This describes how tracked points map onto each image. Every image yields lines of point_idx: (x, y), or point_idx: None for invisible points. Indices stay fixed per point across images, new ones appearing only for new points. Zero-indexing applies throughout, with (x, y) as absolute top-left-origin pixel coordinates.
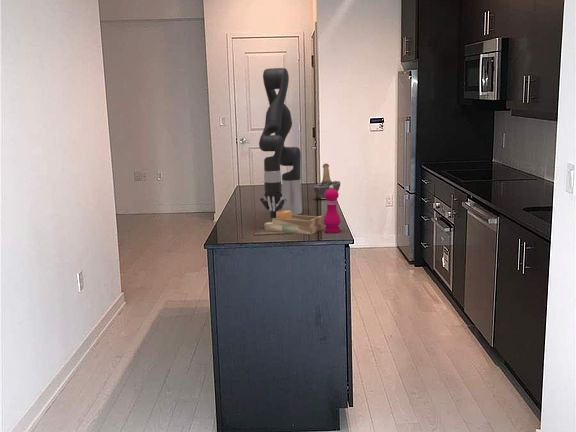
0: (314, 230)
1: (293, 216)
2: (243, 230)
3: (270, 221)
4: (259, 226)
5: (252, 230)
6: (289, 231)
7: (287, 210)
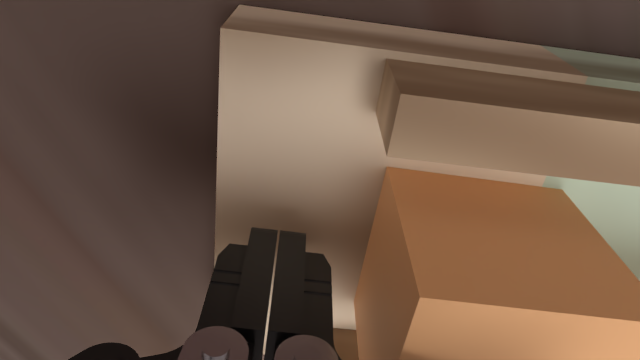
0: None
1: (628, 175)
2: (15, 328)
3: (219, 232)
4: (32, 124)
5: (104, 313)
6: None
7: (573, 324)
